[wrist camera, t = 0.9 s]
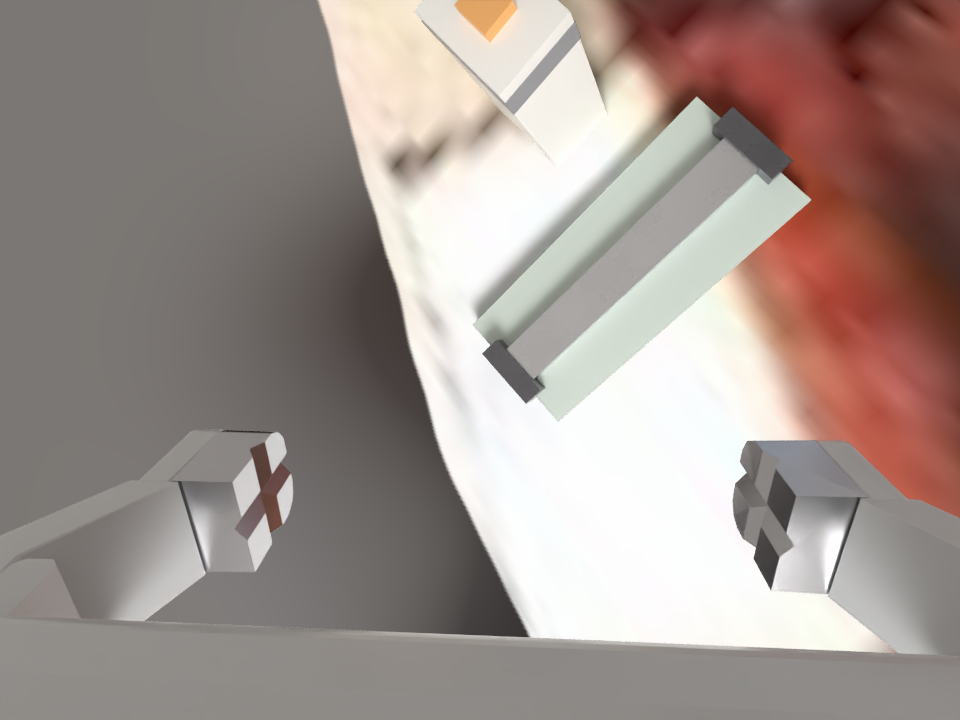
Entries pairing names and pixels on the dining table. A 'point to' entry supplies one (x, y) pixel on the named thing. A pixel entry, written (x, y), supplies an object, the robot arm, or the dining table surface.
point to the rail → (640, 250)
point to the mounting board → (666, 286)
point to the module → (524, 65)
